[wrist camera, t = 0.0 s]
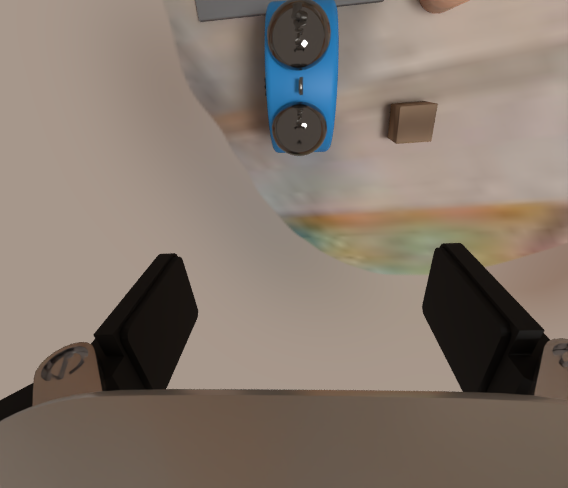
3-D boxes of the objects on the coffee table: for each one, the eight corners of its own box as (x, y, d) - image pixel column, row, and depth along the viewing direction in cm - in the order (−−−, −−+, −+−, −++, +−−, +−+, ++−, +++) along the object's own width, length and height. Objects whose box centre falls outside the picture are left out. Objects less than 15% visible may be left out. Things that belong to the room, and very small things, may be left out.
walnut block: (391, 103, 35) (400, 106, 32) (424, 101, 35) (437, 103, 31) (387, 137, 37) (396, 143, 34) (419, 135, 37) (431, 141, 33)
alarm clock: (324, 139, 38) (335, 171, 25) (278, 140, 38) (265, 172, 25) (328, 13, 31) (347, -32, 18) (272, 17, 32) (252, -26, 19)
